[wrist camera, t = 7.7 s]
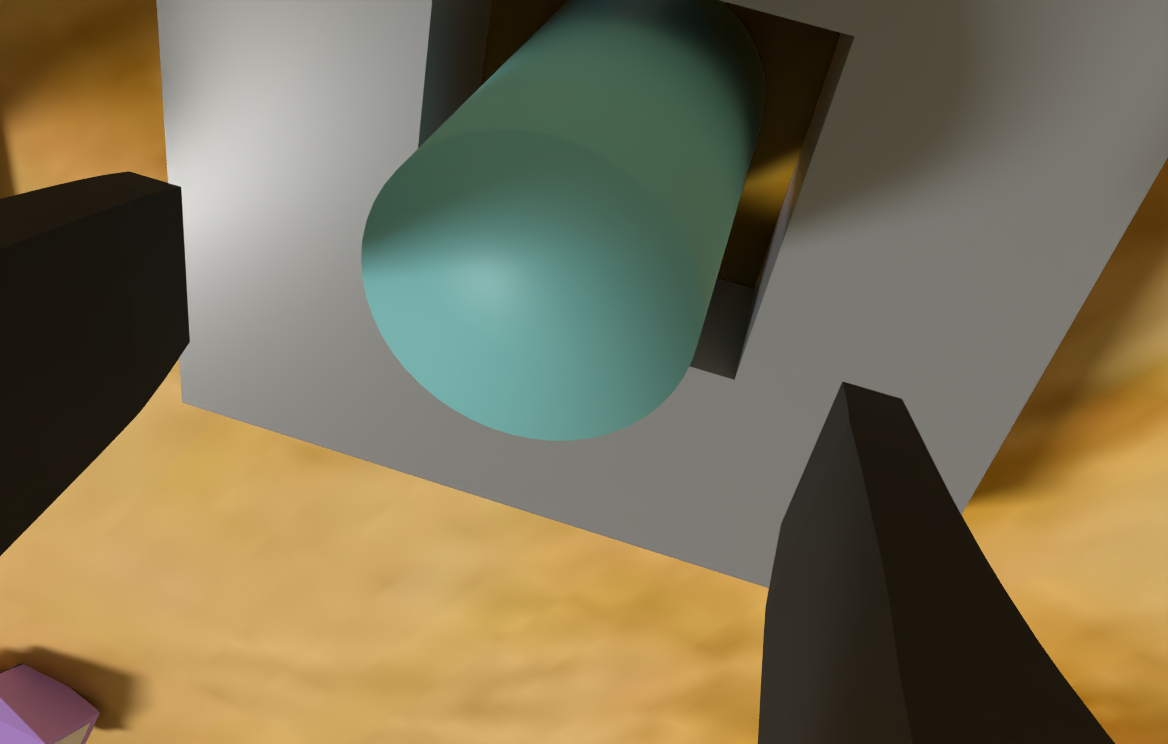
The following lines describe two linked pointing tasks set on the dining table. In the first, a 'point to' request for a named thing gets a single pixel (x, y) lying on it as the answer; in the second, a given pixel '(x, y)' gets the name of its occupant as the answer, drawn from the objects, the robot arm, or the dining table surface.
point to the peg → (571, 219)
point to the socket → (735, 313)
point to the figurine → (42, 710)
